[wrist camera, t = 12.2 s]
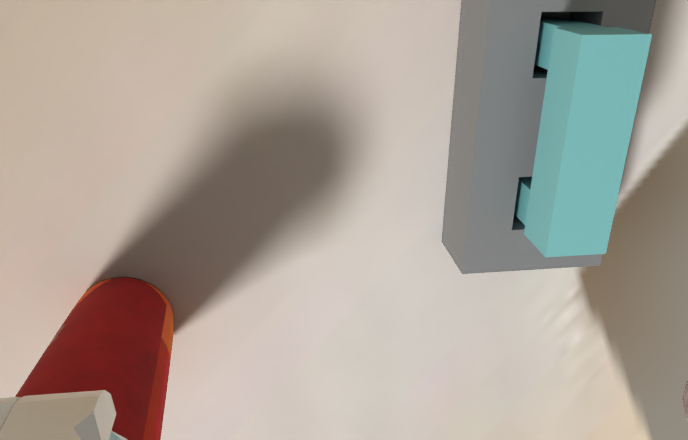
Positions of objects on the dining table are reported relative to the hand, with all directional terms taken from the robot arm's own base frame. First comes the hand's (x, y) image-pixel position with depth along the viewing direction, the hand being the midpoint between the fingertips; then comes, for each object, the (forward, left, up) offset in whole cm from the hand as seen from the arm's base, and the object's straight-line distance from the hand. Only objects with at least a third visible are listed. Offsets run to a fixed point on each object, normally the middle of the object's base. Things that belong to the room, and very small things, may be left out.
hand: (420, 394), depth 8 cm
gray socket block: (+2, +12, -25) cm, 28 cm away
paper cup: (+14, -11, -25) cm, 31 cm away
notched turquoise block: (+2, +12, -24) cm, 27 cm away
